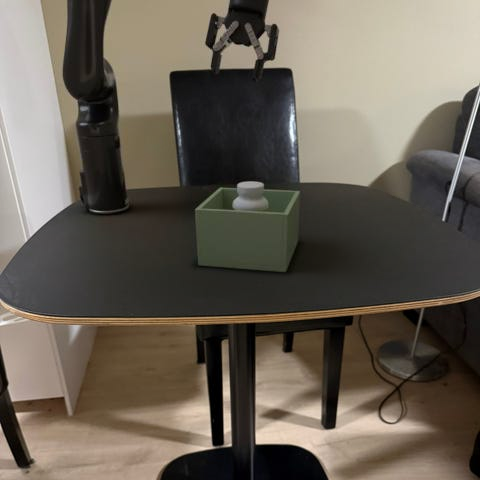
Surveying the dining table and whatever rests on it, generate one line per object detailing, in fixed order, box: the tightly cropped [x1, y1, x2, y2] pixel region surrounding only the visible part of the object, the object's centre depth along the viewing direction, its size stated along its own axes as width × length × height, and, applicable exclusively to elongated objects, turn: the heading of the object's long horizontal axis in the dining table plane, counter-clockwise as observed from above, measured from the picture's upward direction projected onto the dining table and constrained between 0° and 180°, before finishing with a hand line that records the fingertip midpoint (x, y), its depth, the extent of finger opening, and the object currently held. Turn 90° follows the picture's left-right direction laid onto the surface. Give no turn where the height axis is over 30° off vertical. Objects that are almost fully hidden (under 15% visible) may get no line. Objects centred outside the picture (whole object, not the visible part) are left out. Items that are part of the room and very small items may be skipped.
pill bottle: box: [232, 181, 269, 212], centre depth 86 cm, size 6×6×12 cm
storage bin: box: [194, 187, 301, 273], centre depth 87 cm, size 16×16×10 cm
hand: (234, 77), depth 98 cm, fingers open, 8 cm apart
